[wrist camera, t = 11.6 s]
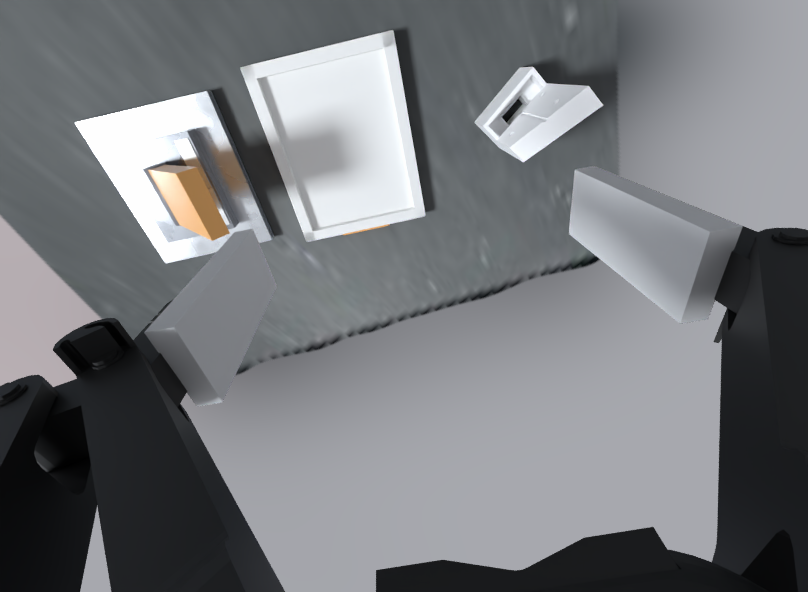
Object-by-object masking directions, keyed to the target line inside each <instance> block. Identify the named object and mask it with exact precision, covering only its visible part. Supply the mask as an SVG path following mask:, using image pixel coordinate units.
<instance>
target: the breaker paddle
mask: <svg viewBox="0 0 808 592" xmlns="http://www.w3.org/2000/svg"><path fill="white" fill-rule="evenodd" d="M143 171H144V173H145V174H146V176H147V178H148V179H149V181H150V183H151V185H152V186H153V188H154V190H155V191H156V193H157V195H158V196H159V198H160V200H161V202H162V203H163V205H164V207H165V208H166V210H167V212H168V213H169V215H170V217H171V219H172V220H173V222H174V224H175V225H176V226H183V227H185V228H187V229H189V230H191V231H193V232H195V233H197V234H199V235H201V236H203V237H205V238H207V239H209V240H211V241H213V240H216V239H218V238H220V237H222V236H225V235H227V234H229V233H230V232H229V230H228V228H227V226H226V224H225V222H224V220H223V218H222V216H221V214H220V212H219V210H218V208H217V206H216V204H215V202H214V200H213V198H212V196H211V194H210V192H209V190H208V189H207V187H206V185H205V183H204V181H203V179H202V177H201V175H200V173H199V171H198V169H197V167H189V166H176V165H166V164H165V163H160V164H156V165H152V166H149V167H146V168H143Z"/></svg>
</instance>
